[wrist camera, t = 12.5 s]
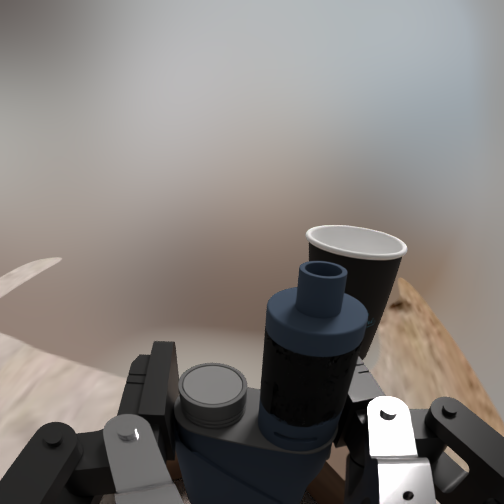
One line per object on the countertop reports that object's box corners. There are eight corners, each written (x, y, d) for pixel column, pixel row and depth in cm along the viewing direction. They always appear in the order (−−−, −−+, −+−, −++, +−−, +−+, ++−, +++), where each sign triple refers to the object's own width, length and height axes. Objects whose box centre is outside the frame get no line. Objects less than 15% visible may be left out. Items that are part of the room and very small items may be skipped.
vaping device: (297, 536, 9) (390, 301, 5) (182, 512, 10) (126, 266, 6) (305, 493, 11) (372, 257, 8) (200, 473, 12) (178, 235, 9)
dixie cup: (337, 325, 31) (354, 222, 28) (394, 363, 25) (426, 247, 21) (274, 346, 27) (285, 228, 24) (330, 398, 21) (361, 261, 17)
